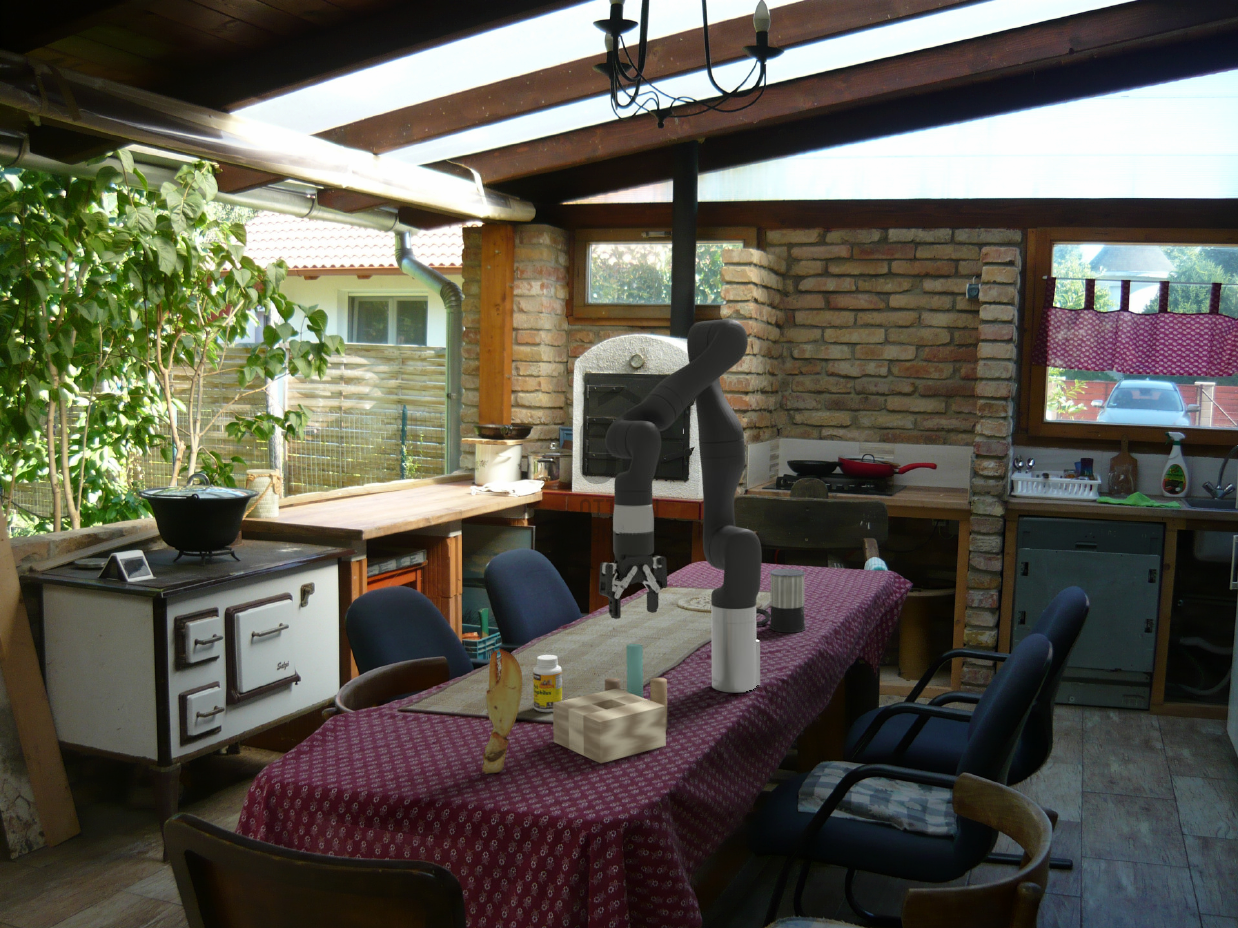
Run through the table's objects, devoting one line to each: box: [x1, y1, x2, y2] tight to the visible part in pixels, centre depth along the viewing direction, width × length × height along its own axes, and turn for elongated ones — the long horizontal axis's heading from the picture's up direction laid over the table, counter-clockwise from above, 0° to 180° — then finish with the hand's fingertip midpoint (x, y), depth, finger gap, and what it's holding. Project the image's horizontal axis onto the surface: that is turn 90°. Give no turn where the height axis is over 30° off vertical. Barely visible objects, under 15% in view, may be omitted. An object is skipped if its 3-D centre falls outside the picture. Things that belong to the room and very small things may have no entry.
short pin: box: [604, 677, 622, 691], centre depth 207 cm, size 3×3×6 cm
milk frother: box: [756, 568, 807, 633], centre depth 276 cm, size 14×16×15 cm
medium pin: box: [649, 677, 668, 731], centre depth 195 cm, size 3×3×9 cm
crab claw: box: [481, 648, 523, 775], centre depth 174 cm, size 7×5×20 cm
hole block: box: [552, 689, 667, 764], centre depth 187 cm, size 14×14×7 cm
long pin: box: [626, 643, 644, 698], centre depth 201 cm, size 3×3×14 cm
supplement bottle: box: [532, 654, 563, 713], centre depth 208 cm, size 6×6×10 cm
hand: (633, 615), depth 200 cm, fingers open, 8 cm apart
